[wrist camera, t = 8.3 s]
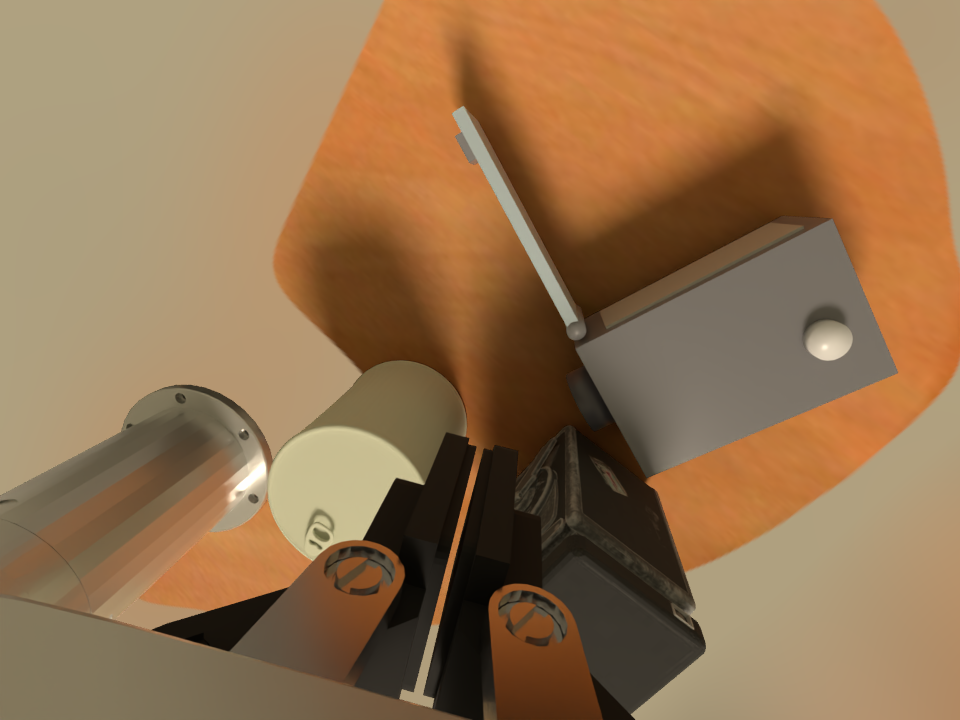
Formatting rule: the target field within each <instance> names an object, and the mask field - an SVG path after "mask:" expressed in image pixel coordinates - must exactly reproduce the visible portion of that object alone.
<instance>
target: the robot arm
mask: <svg viewBox="0 0 960 720" xmlns="http://www.w3.org/2000/svg"><path fill="white" fill-rule="evenodd" d="M468 441H469V438H467V437H463V436H460V435H456V434H452V433H448V432H446V433H445V436H444V438H443V441H442V443H441V446H440V448H439V450H438V453H437V455H436V458H435V460H434V463H433V465H432V467H431V470H430V472H429V475H428V477H427V480H426V482H425V484H424V485H422V484H418V483H415V482H411V481H407V480H404V479H400V478H396V479H395V480H394V482H393V484H392V485H391V487H390V489H389V491H388V493H387V495H386V497H385V499H384V501H383V502H382V504H381V506H380V508H379V510H378V512H377V514H376V516H375V517H374V519H373V521H372V523H371V525H370V527H369V529H368V531H367V532H366V534H365V536H364V538H363V540H350V541H343V542H339V543H337V544H334V545H332V546H329V547H328V548H327V549H325V550H324V551H323V552H321V553H320V554H319V555H318V556H317V558H316V559H315V560H314V561H313V562H312V563H311V564H310V565H309V566H308V567H307V568H306V569H305V570H304V572H303V573H302V574H301V575H300V576H299V577H298V578H297V579H296V580H295V581H294V582H293V583H292V585H291V586H290V587H288V588H285V589H282V590H278V591H275V592H271V593H268V594H265V595H261V596H258V597H255V598H251V599H248V600H245V601H241V602H238V603H235V604H231V605H228V606H224V607H221V608H218V609H214V610H211V611H208V612H205V613H201V614H198V615H194V616H191V617H188V618H184V619H181V620H177V621H174V622H171V623H167V624H165V625H162V626H160V627H157V628H155V629H152V630H149V629H145V628H141V627H138V626H134V625H131V624H127V623H123V622H120V621H116V619H117V618H118V617H119V616H120V615H121V614H122V613H123V612H124V611H125V610H126V609H127V608H128V607H129V606H130V605H132V604H133V603H134V601H136V600H137V599H138V598H139V597H140V596H141V595H142V594H143V593H144V592H145V591H146V590H147V589H149V588H150V587H151V586H152V585H153V584H154V583H155V582H156V581H157V580H158V579H159V578H160V577H161V576H162V575H163V574H164V573H166V572H167V571H168V570H169V569H170V568H171V567H172V566H173V565H174V564H175V563H176V562H177V561H178V560H179V559H180V558H181V557H183V556H184V555H185V554H186V553H187V552H188V551H189V550H190V549H191V548H192V547H193V546H194V545H195V544H196V543H197V542H198V541H200V540H201V539H202V538H203V537H204V536H205V535H206V534H207V533H208V532H220V531H227V530H231V529H233V528H236V527H239V526H241V525H242V524H244V523H245V522H247V521H248V520H250V519H251V518H252V517H253V516H254V515H255V514H256V513H257V512H258V511H259V510H260V509H261V507H262V506H263V505H264V503H265V502H266V501H267V499H268V493H267V483H268V476H269V471H270V468H271V465H272V462H273V461H272V456H271V452H270V449H269V446H268V444H267V441H266V439H265V437H264V435H263V433H262V432H261V430H260V429H259V428H258V426H257V424H256V423H255V421H254V420H253V419H252V418H251V417H250V416H249V415H248V414H247V413H246V411H245V410H243V409H242V408H241V407H240V406H238V405H237V404H236V403H235V402H233V401H232V400H230V399H228V398H227V397H225V396H223V395H222V394H220V393H218V392H215V391H212V390H210V389H207V388H204V387H199V386H193V385H174V386H169V387H165V388H162V389H160V390H157V391H155V392H153V393H151V394H149V395H147V396H146V397H144V398H142V399H141V400H139V401H138V402H137V403H136V404H135V405H134V406H133V408H132V409H131V410H130V411H129V413H128V415H127V417H126V419H125V421H124V424H123V428H122V431H121V432H120V433H118V434H117V435H115V436H113V437H111V438H109V439H107V440H105V441H103V442H101V443H99V444H98V445H96V446H94V447H92V448H90V449H88V450H86V451H85V452H82V453H80V454H78V455H77V456H75V457H73V458H71V459H69V460H67V461H65V462H63V463H61V464H59V465H57V466H56V467H54V468H52V469H50V470H48V471H46V472H44V473H42V474H40V475H38V476H36V477H35V478H33V479H31V480H29V481H27V482H25V483H23V484H21V485H19V486H17V487H15V488H14V489H12V490H10V491H8V492H6V493H4V494H2V495H0V720H635V719H634V718H633V717H632V716H631V715H630V714H629V713H628V711H627V710H626V709H625V708H624V707H623V706H622V705H621V704H620V703H619V702H618V701H617V700H616V699H615V698H614V697H613V696H612V695H611V694H610V693H609V692H608V691H607V690H606V689H605V688H604V687H603V686H602V685H601V684H600V683H599V681H598V680H597V679H596V678H595V677H594V676H593V675H592V674H591V673H590V671H589V668H588V664H587V661H586V657H585V654H584V650H583V646H582V643H581V639H580V636H579V632H578V629H577V625H576V622H575V620H574V618H573V616H572V614H571V612H570V611H569V609H568V608H567V607H566V606H565V605H564V603H563V602H561V601H560V600H559V599H558V598H556V597H555V596H554V595H553V594H551V593H549V592H547V591H545V590H543V589H542V537H541V517H540V516H538V515H534V514H530V513H527V512H523V511H519V510H515V509H514V503H515V489H516V475H517V461H518V451H516V450H513V449H509V448H505V447H501V446H497V445H495V446H494V449H493V451H491V450H488V449H484V451H483V455H482V458H481V462H480V466H479V470H478V473H477V477H476V481H475V485H474V489H473V492H472V496H471V500H470V504H469V507H468V511H467V515H466V519H465V523H464V526H463V530H462V534H461V538H460V541H459V545H458V549H457V553H456V557H455V561H454V565H453V569H452V574H451V578H450V582H449V586H448V591H447V595H446V599H445V603H444V608H443V612H442V616H441V621H440V625H439V629H438V633H437V638H436V642H435V646H434V651H433V655H432V659H431V663H430V668H429V672H428V677H427V680H426V685H425V689H424V694H423V695H425V696H428V697H432V698H434V703H433V708H429V707H425V706H421V705H418V704H415V703H411V702H408V701H404V700H400V699H399V697H400V694H401V690H402V689H404V690H407V691H411V692H414V688H415V685H416V681H417V677H418V673H419V669H420V665H421V662H422V658H423V654H424V650H425V646H426V642H427V639H428V635H429V631H430V627H431V623H432V619H433V616H434V612H435V608H436V604H437V600H438V596H439V592H440V589H441V585H442V581H443V577H444V573H445V569H446V566H447V562H448V558H449V554H450V550H451V546H452V542H453V538H454V534H455V530H456V526H457V523H458V519H459V515H460V511H461V507H462V503H463V499H464V495H465V491H466V487H467V483H468V479H469V475H470V471H471V467H472V463H473V459H474V455H475V451H476V446H473V445H469V444H468Z"/></svg>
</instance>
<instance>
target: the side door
mask: <svg viewBox="0 0 960 720" xmlns="http://www.w3.org/2000/svg"><path fill="white" fill-rule="evenodd" d="M452 115H453V117H454V118H455V120H456V122H457V124H458V126H459V128H460V130H461V131H462V132H461V133H459V134H458V135H456V136H455V137H456V139H457V141H458V143H459V145H460V147H461V148H462V150H463V152H464V154H465V156H466V158H467V159H468V161H469V163H471V164H473V165H475V164H477V163H479V165H480V167H481V168H482V170H483V172H484V174H485V176H486V178H487V180H488V181H489V183H490V185H491V187H492V189H493V191H494V193H495V194H496V196H497V198H498V200H499V202H500V204H501V206H502V207H503V209H504V211H505V213H506V215H507V217H508V218H509V220H510V222H511V224H512V226H513V228H514V230H515V231H516V233H517V235H518V237H519V239H520V241H521V243H522V244H523V246H524V248H525V250H526V252H527V254H528V256H529V257H530V259H531V261H532V263H533V265H534V267H535V269H536V270H537V272H538V274H539V276H540V278H541V280H542V282H543V283H544V285H545V287H546V289H547V291H548V293H549V295H550V296H551V298H552V300H553V302H554V304H555V306H556V307H557V309H558V311H559V313H560V315H561V317H562V319H563V320H564V322H565V324H566V332H567V335H568V337H569V338H570V339H572V340H580V339H582V338H583V337H584V336H585V334H586V326H585V322H584V317H583V313H582V309H581V307H580V306H579V305H577V304H575V302H574V301H573V299H572V297H571V295H570V293H569V291H568V289H567V287H566V285H565V284H564V282H563V280H562V278H561V276H560V274H559V272H558V270H557V268H556V267H555V265H554V263H553V261H552V259H551V257H550V255H549V253H548V252H547V250H546V248H545V246H544V244H543V242H542V240H541V238H540V236H539V235H538V233H537V231H536V229H535V227H534V225H533V223H532V221H531V220H530V218H529V216H528V214H527V212H526V210H525V208H524V206H523V204H522V203H521V201H520V199H519V197H518V195H517V193H516V191H515V189H514V188H513V186H512V184H511V182H510V180H509V178H508V176H507V174H506V172H505V171H504V169H503V167H502V165H501V163H500V161H499V159H498V157H497V156H496V154H495V152H494V150H493V148H492V146H491V144H490V142H489V140H488V139H487V137H486V135H485V133H484V131H483V129H482V127H481V125H480V124H479V122H478V120H477V119H476V118H475V117H474V116H473V115H472V114H471V113H470V112H469V111H468V110H467V109H466V108H465V107H464V106H462V107H461V108H459V109H458V110H456V111H455V112H453V113H452Z"/></svg>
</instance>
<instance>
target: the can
mask: <svg viewBox="0 0 960 720" xmlns="http://www.w3.org/2000/svg"><path fill="white" fill-rule="evenodd" d="M466 430H467V418H466V412H465V408H464V405H463V402H462V400H461V398H460V396H459V394H458V392H457V391H456V389H455V388H454V387H453V385H452V384H451V383H450V382H449V381H448V380H447V379H446V378H445V377H444V376H442V375H441V374H440V373H438V372H437V371H435V370H434V369H432V368H430V367H428V366H426V365H423V364H420V363H417V362H412V361H404V360H398V361H389V362H384V363H381V364H379V365H376V366H374V367H372V368H370V369H369V370H367V371H366V372H365V373H363V374H362V375H361V376H360V377H359V378H358V379H357V381H356V382H355V383H354V385H353V386H352V387H351V388H350V389H349V390H348V391H347V392H346V393H345V394H344V395H343V396H342V397H341V398H339V399H338V400H337V401H336V402H335V403H334V404H333V405H332V406H330V407H329V408H328V409H327V410H326V411H325V412H324V413H322V414H321V415H320V416H319V417H318V418H317V419H316V420H314V421H313V422H312V423H311V424H310V425H308V426H307V427H306V428H305V429H304V430H302V431H301V432H300V433H298V434H297V435H295V436H294V437H292V438H291V439H290V440H288V442H286V443H285V444H284V445H283V447H282V448H281V449H280V450H279V452H278V453H277V455H276V457H275V458H274V460H273V462H272V465H271V468H270V471H269V476H268V483H267V493H268V501H269V505H270V509H271V512H272V514H273V517H274V519H275V521H276V523H277V525H278V527H279V528H280V530H281V532H282V533H283V534H284V536H285V537H286V538H287V540H288V541H289V542H290V543H291V544H292V545H293V546H294V547H295V548H296V549H297V550H298V551H300V552H301V553H302V554H303V555H305V556H306V557H307V558H309V559H310V560H312V561H314V560H315V559H316V558H317V556H318V555H319V554H320V553H321V552H323V551H324V550H325V549H327V548H328V547H329V546H332V545H334V544H337V543H339V542H343V541H350V540H363V538H364V536H365V534H366V532H367V531H368V529H369V527H370V525H371V523H372V521H373V519H374V517H375V516H376V514H377V512H378V510H379V508H380V506H381V504H382V502H383V501H384V499H385V497H386V495H387V493H388V491H389V489H390V487H391V485H392V484H393V482H394V480H395V479H396V478H400V479H404V480H407V481H411V482H415V483H418V484H422V485H424V484H425V482H426V480H427V477H428V475H429V472H430V470H431V467H432V465H433V463H434V460H435V458H436V455H437V453H438V450H439V448H440V446H441V443H442V441H443V438H444V436H445V433H446V432H448V433H452V434H456V435H460V436H463V437H465V436H466Z"/></svg>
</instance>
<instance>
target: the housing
mask: <svg viewBox="0 0 960 720" xmlns="http://www.w3.org/2000/svg"><path fill="white" fill-rule="evenodd" d="M584 322H585V326H586V334H585V336H584V337H583V338H582V339H580V340H574V343H575V349H576V351H577V353H578V355H579V357H580V359H581V360H582V362H583V364H584V366H582V367H580V368H578V369H576V370H574V371H572V372H570V373H568V374H566V380H567V383H568V386H569V388H570V391H571V393H572V395H573V398H574V400H575V402H576V404H577V406H578V408H579V410H580V412H581V413H582V415H583V417H584V419H585V420H586V422H587V423H588V425H589V426H590V428H591V429H592V430H593V431H597V430H599V429H601V428H604V427H606V426H608V425H610V424H612V423H615V422H616V424H617V425H618V427H619V429H620V431H621V433H622V434H623V436H624V438H625V440H626V442H627V443H628V445H629V447H630V449H631V451H632V453H633V454H634V456H635V458H636V460H637V462H638V463H639V465H640V467H641V469H642V471H643V472H644V474H645V476H646V478H648V477H651V476H653V475H655V474H658V473H660V472H663V471H665V470H667V469H670V468H672V467H675V466H677V465H679V464H682V463H684V462H686V461H689V460H691V459H694V458H696V457H698V456H701V455H703V454H706V453H708V452H710V451H713V450H715V449H718V448H720V447H722V446H725V445H727V444H730V443H732V442H734V441H737V440H739V439H742V438H744V437H746V436H749V435H751V434H753V433H756V432H758V431H761V430H763V429H765V428H768V427H770V426H773V425H775V424H777V423H780V422H782V421H785V420H787V419H789V418H792V417H794V416H797V415H799V414H801V413H804V412H806V411H809V410H811V409H813V408H816V407H818V406H820V405H823V404H825V403H828V402H830V401H832V400H835V399H837V398H840V397H842V396H844V395H847V394H849V393H852V392H854V391H856V390H859V389H861V388H864V387H866V386H868V385H871V384H873V383H876V382H878V381H880V380H883V379H885V378H887V377H890V376H892V375H895V374H897V373H898V371H897V369H896V366H895V364H894V362H893V359H892V357H891V355H890V352H889V350H888V348H887V345H886V343H885V341H884V338H883V336H882V334H881V331H880V329H879V326H878V324H877V322H876V319H875V317H874V315H873V312H872V310H871V308H870V305H869V303H868V301H867V298H866V296H865V294H864V291H863V289H862V287H861V284H860V282H859V280H858V277H857V275H856V273H855V270H854V268H853V266H852V263H851V261H850V259H849V256H848V254H847V251H846V249H845V247H844V244H843V242H842V240H841V237H840V235H839V233H838V230H837V228H836V226H835V223H834V221H833V219H832V218H814V217H796V216H781V217H779V218H777V219H775V220H773V221H771V222H770V223H768V224H766V225H764V226H762V227H760V228H758V229H756V230H754V231H752V232H750V233H748V234H746V235H745V236H743V237H741V238H739V239H737V240H735V241H733V242H731V243H729V244H727V245H725V246H723V247H722V248H720V249H718V250H716V251H714V252H712V253H710V254H708V255H706V256H704V257H702V258H700V259H699V260H697V261H695V262H693V263H691V264H689V265H687V266H685V267H683V268H681V269H679V270H677V271H675V272H674V273H672V274H670V275H668V276H666V277H664V278H662V279H660V280H658V281H656V282H654V283H652V284H651V285H649V286H647V287H645V288H643V289H641V290H639V291H637V292H635V293H633V294H631V295H629V296H628V297H626V298H624V299H622V300H620V301H618V302H616V303H614V304H612V305H610V306H608V307H606V308H604V309H603V310H601V311H599V312H597V313H595V314H593V315H591V316H589V317H587V318H585V319H584Z"/></svg>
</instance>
